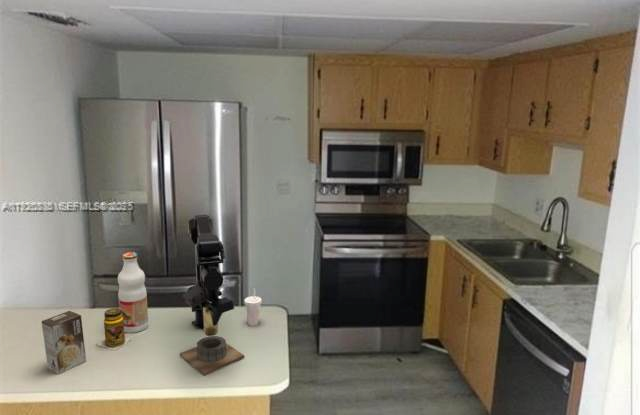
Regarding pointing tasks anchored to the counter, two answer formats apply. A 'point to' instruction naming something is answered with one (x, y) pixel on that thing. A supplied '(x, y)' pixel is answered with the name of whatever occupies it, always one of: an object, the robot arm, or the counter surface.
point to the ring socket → (211, 355)
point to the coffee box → (64, 341)
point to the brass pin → (209, 322)
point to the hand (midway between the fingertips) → (210, 322)
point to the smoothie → (253, 309)
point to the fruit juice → (132, 295)
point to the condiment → (113, 330)
